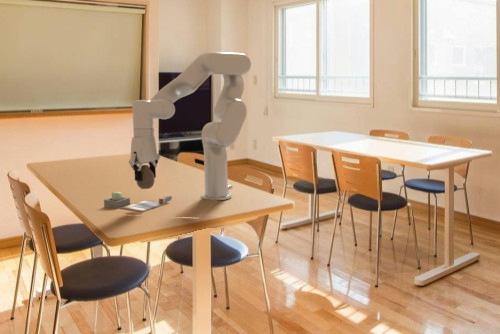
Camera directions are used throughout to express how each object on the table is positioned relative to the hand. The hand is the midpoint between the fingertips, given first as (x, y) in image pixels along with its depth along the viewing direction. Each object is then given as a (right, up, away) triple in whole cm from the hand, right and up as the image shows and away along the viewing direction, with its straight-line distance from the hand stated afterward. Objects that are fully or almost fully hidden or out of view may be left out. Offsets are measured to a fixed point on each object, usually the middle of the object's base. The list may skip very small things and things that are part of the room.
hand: (145, 178), depth 192 cm
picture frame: (-1, -11, +3) cm, 12 cm away
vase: (0, -4, +1) cm, 4 cm away
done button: (-12, -9, +5) cm, 16 cm away
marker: (+6, -9, +10) cm, 15 cm away
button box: (-12, -11, +5) cm, 17 cm away
